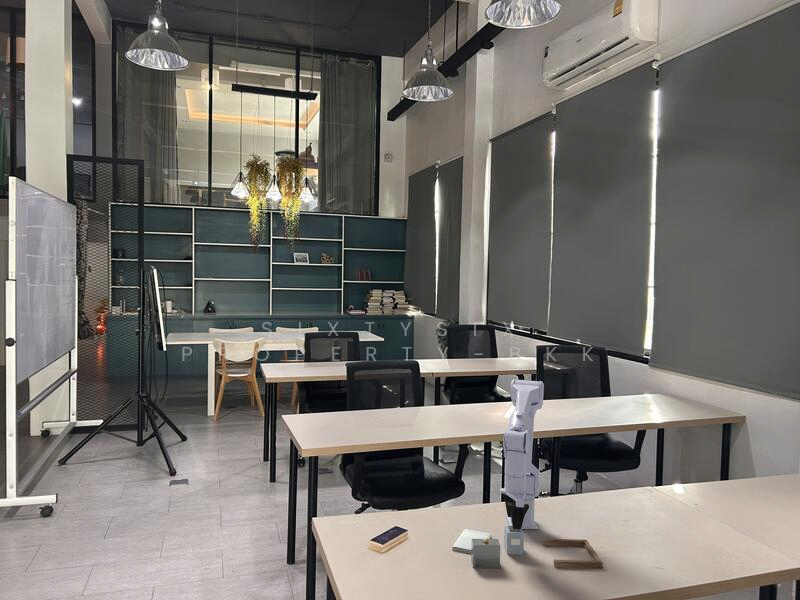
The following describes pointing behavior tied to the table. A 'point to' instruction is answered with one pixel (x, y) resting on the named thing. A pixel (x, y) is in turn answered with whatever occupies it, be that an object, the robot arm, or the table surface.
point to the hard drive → (468, 540)
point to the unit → (485, 553)
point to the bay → (575, 563)
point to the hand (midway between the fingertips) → (514, 522)
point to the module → (513, 540)
